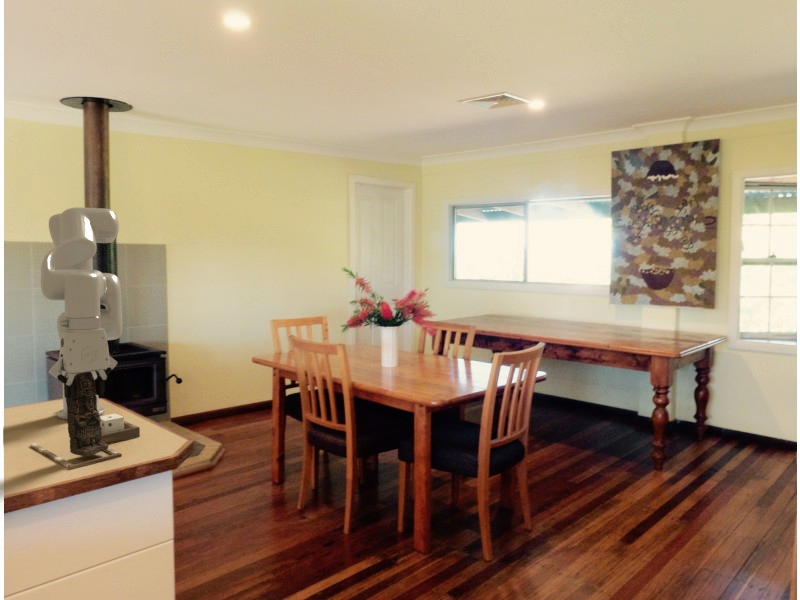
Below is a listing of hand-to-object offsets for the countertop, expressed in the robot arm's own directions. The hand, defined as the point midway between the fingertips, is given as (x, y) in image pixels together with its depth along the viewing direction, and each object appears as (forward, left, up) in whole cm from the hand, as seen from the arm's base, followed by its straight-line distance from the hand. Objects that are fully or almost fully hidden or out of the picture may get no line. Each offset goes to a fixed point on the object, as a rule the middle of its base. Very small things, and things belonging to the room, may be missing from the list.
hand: (85, 397), depth 150 cm
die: (-11, +11, -14) cm, 21 cm away
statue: (0, 0, -14) cm, 14 cm away
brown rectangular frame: (-7, 0, -15) cm, 17 cm away
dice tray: (-12, +11, -15) cm, 22 cm away
